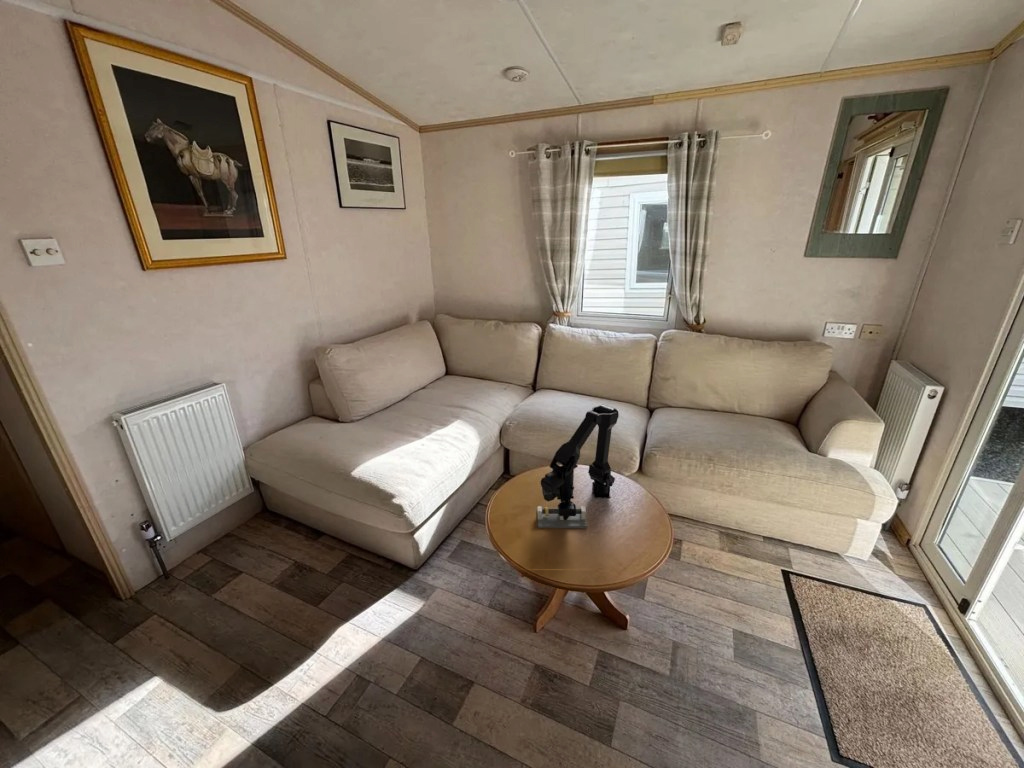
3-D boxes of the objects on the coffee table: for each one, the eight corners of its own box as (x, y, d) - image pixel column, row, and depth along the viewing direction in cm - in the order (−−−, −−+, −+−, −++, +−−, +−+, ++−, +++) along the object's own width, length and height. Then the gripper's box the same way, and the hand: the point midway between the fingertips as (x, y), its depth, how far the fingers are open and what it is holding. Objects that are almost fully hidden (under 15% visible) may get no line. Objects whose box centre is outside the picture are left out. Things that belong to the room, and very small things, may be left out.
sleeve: (569, 512, 153) (569, 502, 151) (570, 520, 149) (570, 510, 147) (558, 512, 153) (559, 502, 151) (559, 519, 149) (560, 510, 147)
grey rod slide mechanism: (583, 510, 156) (583, 499, 154) (586, 528, 146) (587, 516, 145) (537, 510, 156) (537, 499, 155) (538, 527, 147) (538, 516, 145)
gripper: (542, 466, 154) (542, 499, 160) (544, 496, 137) (544, 532, 142) (571, 466, 154) (570, 499, 159) (577, 496, 136) (575, 532, 142)
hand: (564, 515), depth 151 cm, fingers closed on sleeve, 4 cm apart
